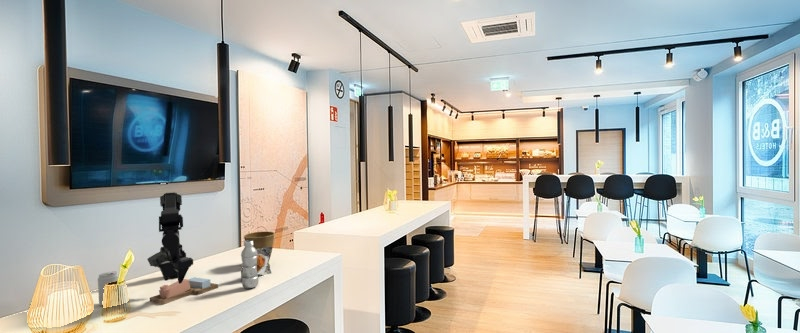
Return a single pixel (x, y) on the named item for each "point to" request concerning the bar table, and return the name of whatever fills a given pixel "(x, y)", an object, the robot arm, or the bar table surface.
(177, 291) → the block
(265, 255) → the meal
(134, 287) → the bar table surface
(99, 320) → the bar table surface
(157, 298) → the jig
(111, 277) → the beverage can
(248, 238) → the plant pot
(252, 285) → the plastic bottle
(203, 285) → the light blue rectangular block
